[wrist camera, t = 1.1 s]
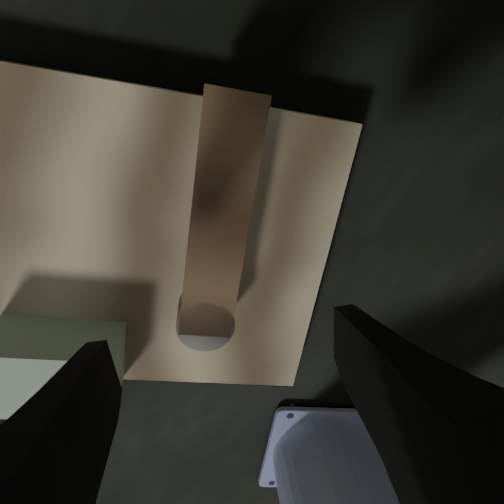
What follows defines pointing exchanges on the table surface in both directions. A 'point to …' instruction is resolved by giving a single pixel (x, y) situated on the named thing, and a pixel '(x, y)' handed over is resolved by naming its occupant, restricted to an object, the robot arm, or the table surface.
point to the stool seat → (158, 220)
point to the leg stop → (47, 352)
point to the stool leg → (220, 213)
